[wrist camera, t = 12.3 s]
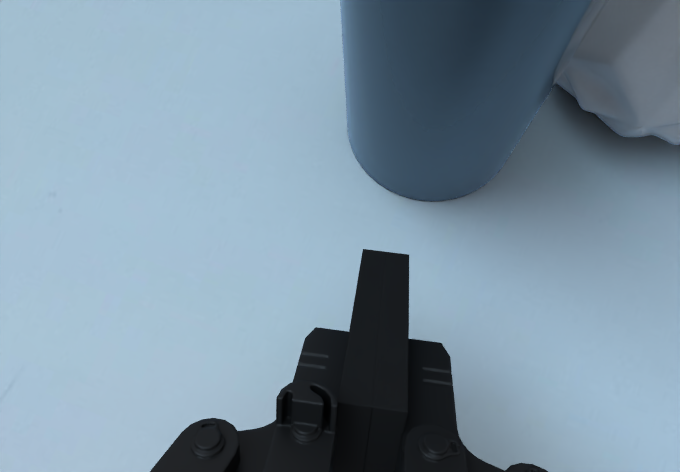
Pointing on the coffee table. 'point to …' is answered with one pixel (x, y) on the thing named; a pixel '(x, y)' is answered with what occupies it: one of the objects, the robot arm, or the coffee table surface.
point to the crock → (451, 84)
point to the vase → (631, 69)
